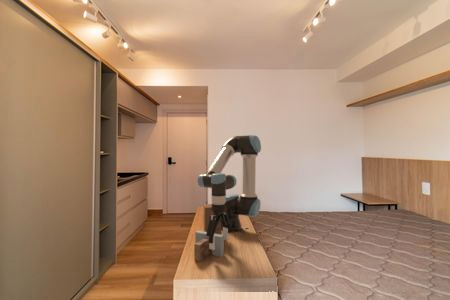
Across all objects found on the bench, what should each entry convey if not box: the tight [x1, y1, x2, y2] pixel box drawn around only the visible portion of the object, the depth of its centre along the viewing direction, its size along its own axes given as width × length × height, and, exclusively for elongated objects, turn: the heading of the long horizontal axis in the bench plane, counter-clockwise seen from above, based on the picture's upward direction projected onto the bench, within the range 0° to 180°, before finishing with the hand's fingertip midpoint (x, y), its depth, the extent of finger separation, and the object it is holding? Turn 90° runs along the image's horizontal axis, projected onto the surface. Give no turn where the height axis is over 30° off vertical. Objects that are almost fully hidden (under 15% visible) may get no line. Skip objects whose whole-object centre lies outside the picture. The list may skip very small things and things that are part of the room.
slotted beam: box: [193, 230, 223, 262], centre depth 122 cm, size 22×3×8 cm, turn 151°
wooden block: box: [203, 203, 222, 232], centre depth 144 cm, size 10×10×20 cm
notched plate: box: [194, 230, 225, 257], centre depth 122 cm, size 3×16×10 cm, turn 61°
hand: (219, 244), depth 119 cm, fingers open, 13 cm apart
